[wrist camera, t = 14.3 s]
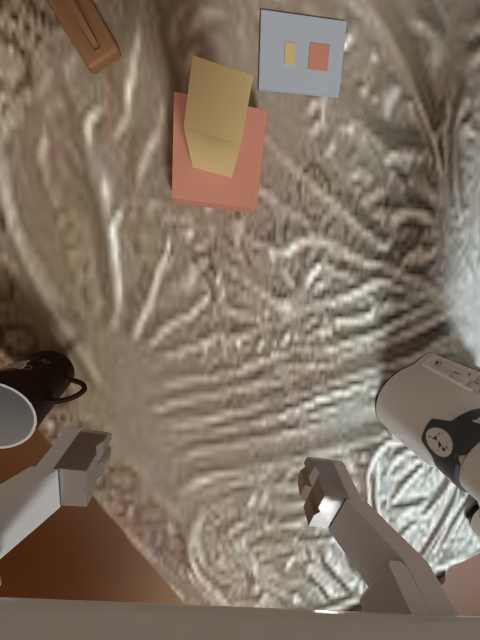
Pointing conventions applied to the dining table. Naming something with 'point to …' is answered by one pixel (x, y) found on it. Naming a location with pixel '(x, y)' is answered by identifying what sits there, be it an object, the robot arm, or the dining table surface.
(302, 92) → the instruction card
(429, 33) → the dining table surface
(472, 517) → the spread jar
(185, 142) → the base brick
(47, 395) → the coffee mug
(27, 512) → the robot arm
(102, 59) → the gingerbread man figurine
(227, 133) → the ochre brick
